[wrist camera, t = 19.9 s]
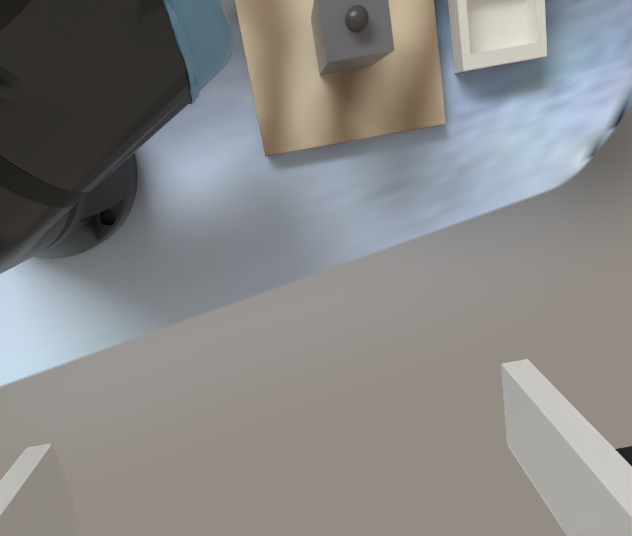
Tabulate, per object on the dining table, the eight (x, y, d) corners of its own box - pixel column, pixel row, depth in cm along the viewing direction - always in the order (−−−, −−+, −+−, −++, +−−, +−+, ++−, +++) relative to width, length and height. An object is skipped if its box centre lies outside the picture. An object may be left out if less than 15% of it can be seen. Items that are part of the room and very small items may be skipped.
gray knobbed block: (319, 75, 44) (328, 60, 33) (310, 18, 43) (316, -16, 32) (371, 66, 44) (396, 48, 33) (363, 9, 42) (387, -29, 32)
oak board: (265, 155, 47) (265, 155, 45) (227, -44, 42) (225, -49, 41) (442, 123, 46) (445, 123, 45) (421, -79, 42) (425, -85, 41)
